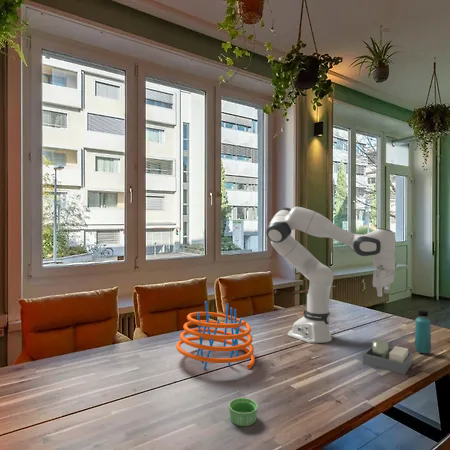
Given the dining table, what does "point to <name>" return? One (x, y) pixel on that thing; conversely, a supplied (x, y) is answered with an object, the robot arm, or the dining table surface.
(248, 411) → the ramekin
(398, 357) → the cream rectangular block
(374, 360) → the tote
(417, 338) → the beverage bottle
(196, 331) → the orange spiral coil rods
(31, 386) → the dining table surface
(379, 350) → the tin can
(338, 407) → the dining table surface
